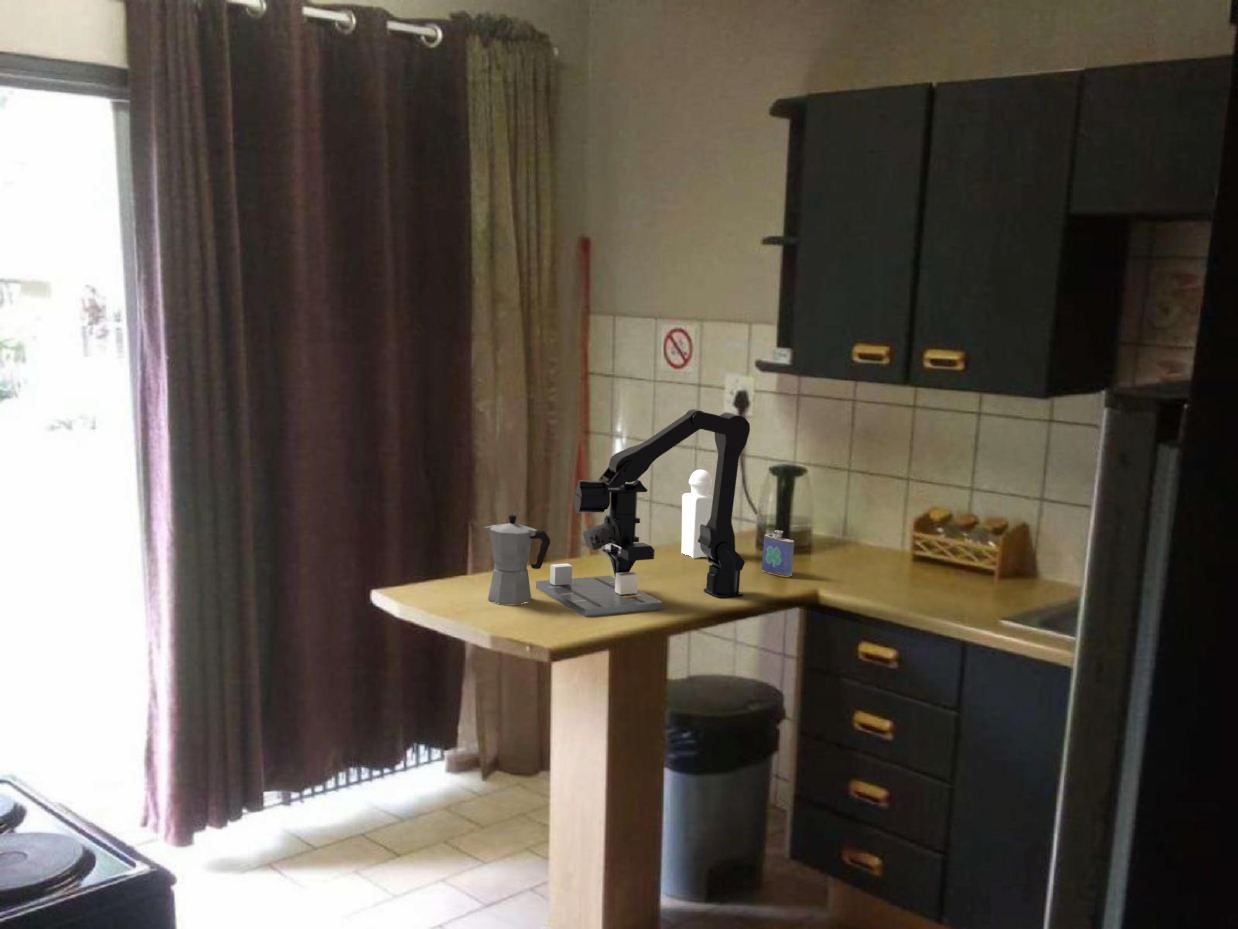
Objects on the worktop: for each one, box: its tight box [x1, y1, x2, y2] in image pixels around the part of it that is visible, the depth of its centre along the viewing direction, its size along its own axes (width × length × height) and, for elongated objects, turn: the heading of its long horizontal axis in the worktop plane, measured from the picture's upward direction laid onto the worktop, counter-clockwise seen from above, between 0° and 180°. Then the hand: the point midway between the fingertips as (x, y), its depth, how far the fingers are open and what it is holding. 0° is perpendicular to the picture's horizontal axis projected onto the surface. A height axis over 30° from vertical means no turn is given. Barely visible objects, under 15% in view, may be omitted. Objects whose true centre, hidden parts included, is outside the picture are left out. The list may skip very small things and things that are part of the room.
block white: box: [549, 563, 573, 585], centre depth 247 cm, size 4×2×4 cm, turn 118°
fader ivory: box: [615, 571, 639, 595], centre depth 242 cm, size 4×2×4 cm, turn 118°
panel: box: [535, 575, 664, 618], centre depth 243 cm, size 18×24×2 cm
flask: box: [761, 529, 795, 577], centre depth 273 cm, size 9×3×11 cm, turn 38°
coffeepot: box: [483, 514, 551, 605], centre depth 237 cm, size 15×9×18 cm, turn 66°
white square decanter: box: [680, 469, 713, 559], centre depth 288 cm, size 6×6×22 cm
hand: (619, 584), depth 245 cm, fingers closed
